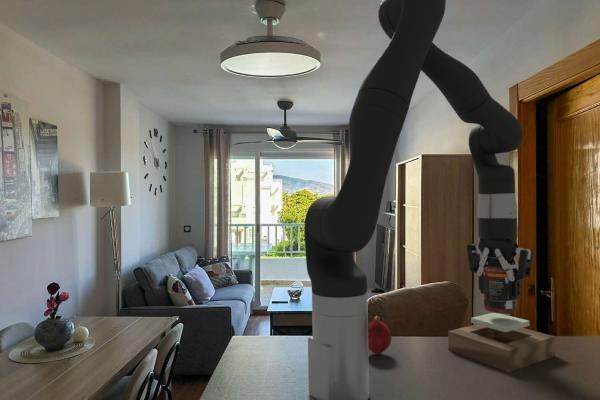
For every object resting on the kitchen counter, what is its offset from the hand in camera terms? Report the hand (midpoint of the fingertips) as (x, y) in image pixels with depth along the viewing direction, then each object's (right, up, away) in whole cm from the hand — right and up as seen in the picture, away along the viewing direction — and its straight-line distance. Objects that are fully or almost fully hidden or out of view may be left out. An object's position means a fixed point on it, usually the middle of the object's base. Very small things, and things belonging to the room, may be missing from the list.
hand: (499, 295), depth 88 cm
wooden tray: (0, -12, 0) cm, 12 cm away
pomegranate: (-25, -13, 0) cm, 28 cm away
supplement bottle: (0, -3, 0) cm, 3 cm away
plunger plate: (0, -6, 0) cm, 6 cm away
